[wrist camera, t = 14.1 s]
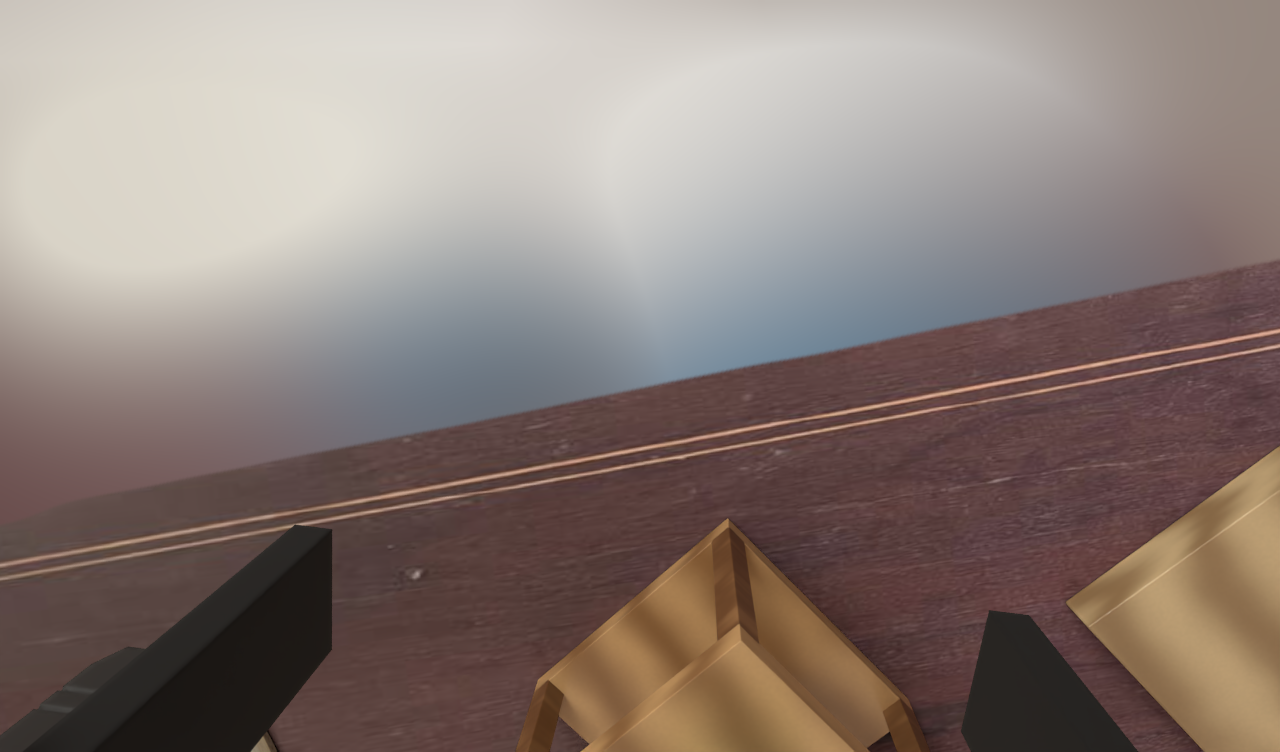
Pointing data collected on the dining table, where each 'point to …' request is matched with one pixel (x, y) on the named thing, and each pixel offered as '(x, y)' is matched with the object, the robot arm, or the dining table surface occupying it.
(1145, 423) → the dining table surface
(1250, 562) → the wooden square board
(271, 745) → the tableware set
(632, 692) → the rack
